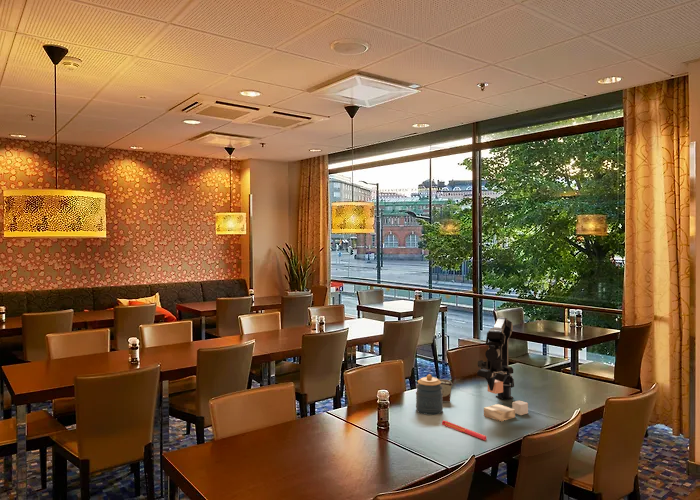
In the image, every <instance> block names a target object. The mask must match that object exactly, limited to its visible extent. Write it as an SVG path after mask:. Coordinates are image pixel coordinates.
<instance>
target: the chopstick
mask: <svg viewBox="0 0 700 500" xmlns="http://www.w3.org/2000/svg"><path fill="white" fill-rule="evenodd" d="M441 421H442V422H441V425H442V426H446V427H448V428H451V429H453V430H455V431H458V432H461V433H465V434H466V435H469V436H472V437H475V438H478V439H480V440H483V441H486V440H487V435H484V434H481V433H480V432H477V431H473V430H471V429H468V428H466V427H464V426H460V425H459V424H455V423H453V422H450V421H448V420H441Z"/></svg>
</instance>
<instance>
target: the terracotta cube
mask: <svg viewBox="0 0 700 500" xmlns="http://www.w3.org/2000/svg"><path fill="white" fill-rule="evenodd" d="M487 392H488V393H492V394H494V395H496V394H497V395H498V393H502V392H503V382H502V381H499V380H495V382H494V387H493V390H492V391H491V390H490V388H489V385H488V384H487Z"/></svg>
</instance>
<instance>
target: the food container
mask: <svg viewBox="0 0 700 500" xmlns="http://www.w3.org/2000/svg"><path fill="white" fill-rule="evenodd" d="M437 379H438V380H440V381H441V385H442V386H443V389H442V393H443V403H445V402H448V403H449V402H451V395H452V387H453V386H454V385H453V382H452V381H451V380H450V379H445V378H444V379H443V378H437Z"/></svg>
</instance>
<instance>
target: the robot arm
mask: <svg viewBox="0 0 700 500" xmlns="http://www.w3.org/2000/svg"><path fill="white" fill-rule="evenodd" d="M513 330H514V326H513V321H511V320H509V319H508V318H507V317H506V316H505V317H503V316H501V317H500V316H497V317H496V319H495V321H494V326H493V327H491V328H490V329H488V331H487V333H486V338H485V339H486V340H485V346H488V349H486V351H485V353H484V354H485V358H486V361H484V360H483V359H482V360H478V361H477V367H478V368H479V369H478V370H477V371H476V374H477V377H481V378H484V379H485V380H486V383H487V386H488V385H489V388H490V390H491V391H492V390H493V387H494V382H495V380H499V381H502V382H503V392H502V393H497V395H495V397H496V398H498V399H499V400H500V399H501V400H504V401H506V400H510V399H514V396H512V388H514V387H515V379H514V376H513V375H512V374H514V368H513V366H509V338H510V337H511V335H512V332H513ZM494 375H495V376H494Z"/></svg>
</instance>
